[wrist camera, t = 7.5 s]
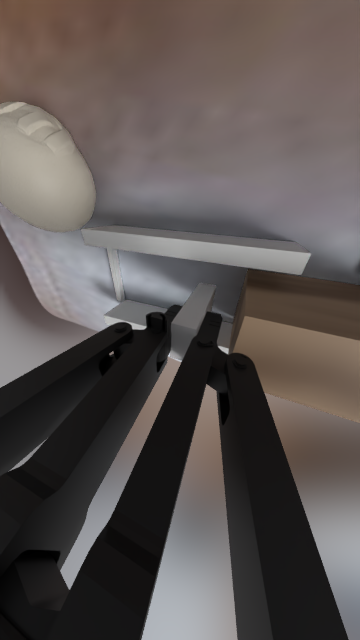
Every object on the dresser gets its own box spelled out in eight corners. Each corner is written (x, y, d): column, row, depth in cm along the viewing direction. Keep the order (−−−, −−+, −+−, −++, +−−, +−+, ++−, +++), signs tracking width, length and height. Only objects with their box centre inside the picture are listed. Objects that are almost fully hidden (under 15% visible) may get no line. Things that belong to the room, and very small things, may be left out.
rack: (107, 224, 16) (73, 228, 13) (296, 242, 12) (311, 253, 9) (122, 306, 22) (101, 322, 19) (256, 338, 17) (257, 366, 14)
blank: (247, 268, 14) (244, 315, 8) (395, 290, 12) (564, 385, 5) (233, 317, 17) (223, 379, 11) (350, 342, 14) (425, 444, 8)
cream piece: (118, 150, 13) (27, 110, 8) (106, 240, 17) (44, 254, 12) (46, 105, 13) (-94, 35, 8) (53, 207, 17) (-32, 206, 12)
